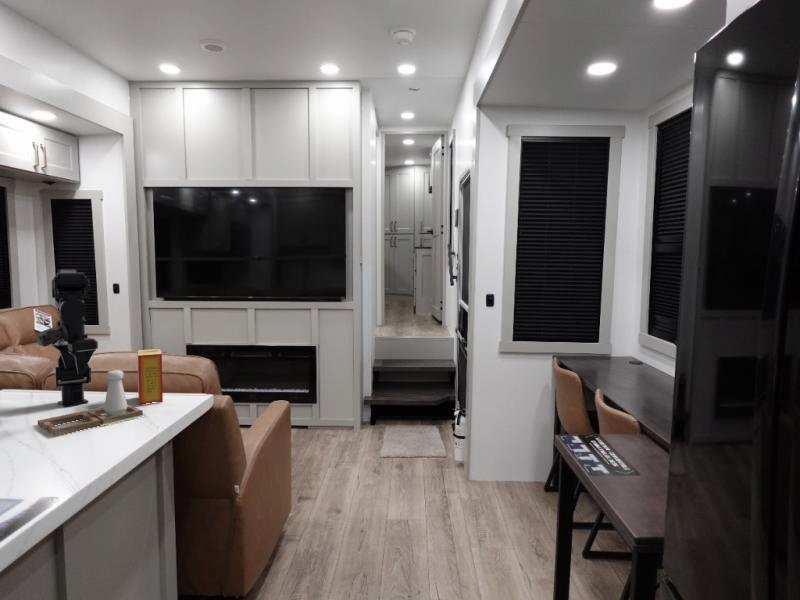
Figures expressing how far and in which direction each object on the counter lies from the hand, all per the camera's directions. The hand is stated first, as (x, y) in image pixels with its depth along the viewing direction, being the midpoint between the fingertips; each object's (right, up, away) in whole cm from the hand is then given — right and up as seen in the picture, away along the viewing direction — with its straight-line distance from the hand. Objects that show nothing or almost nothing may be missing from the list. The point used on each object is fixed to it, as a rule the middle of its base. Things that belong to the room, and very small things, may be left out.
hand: (74, 371), depth 136 cm
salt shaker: (+11, -13, +1) cm, 17 cm away
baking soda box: (+12, -12, +18) cm, 25 cm away
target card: (+11, -13, +1) cm, 17 cm away
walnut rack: (+7, -13, -2) cm, 15 cm away
